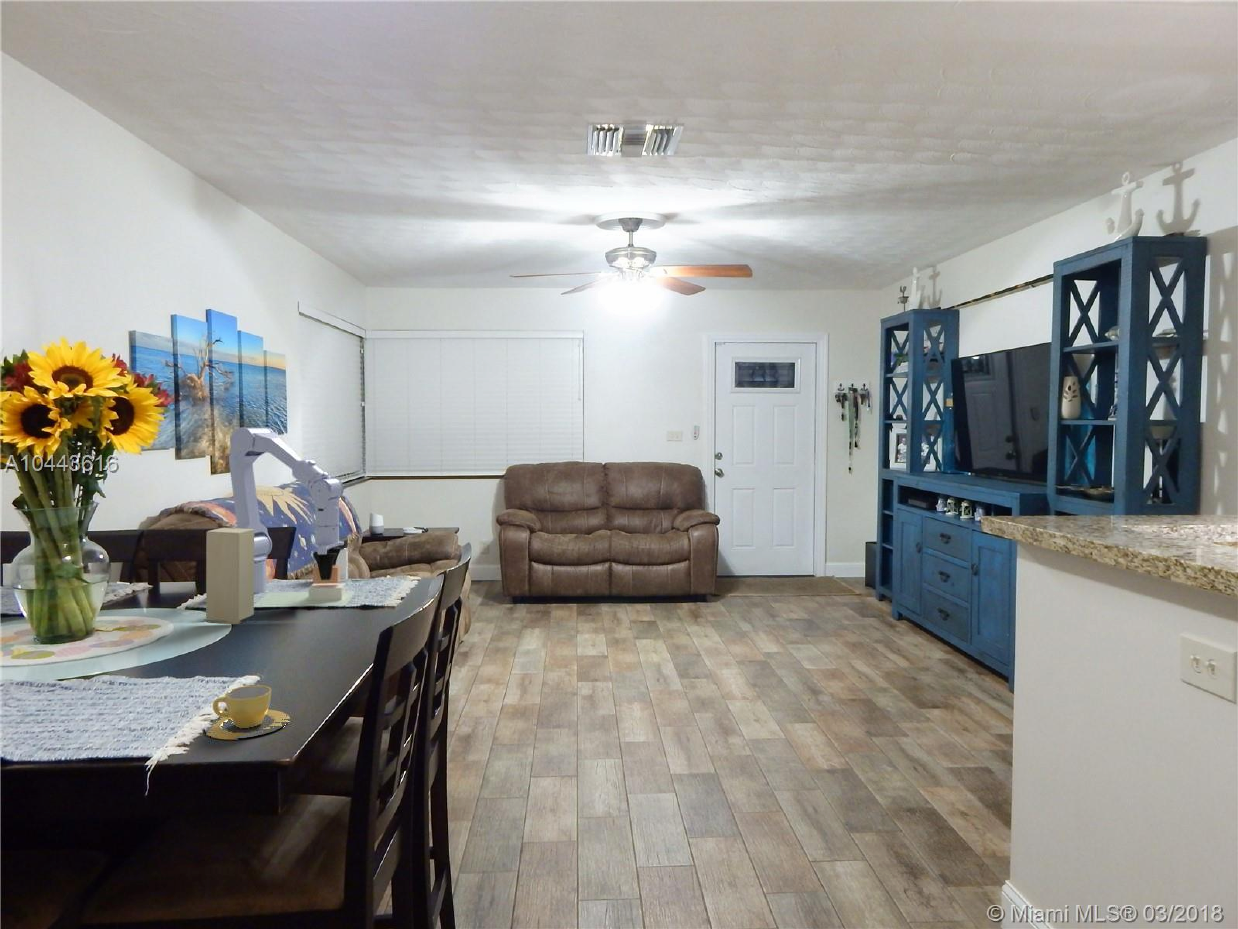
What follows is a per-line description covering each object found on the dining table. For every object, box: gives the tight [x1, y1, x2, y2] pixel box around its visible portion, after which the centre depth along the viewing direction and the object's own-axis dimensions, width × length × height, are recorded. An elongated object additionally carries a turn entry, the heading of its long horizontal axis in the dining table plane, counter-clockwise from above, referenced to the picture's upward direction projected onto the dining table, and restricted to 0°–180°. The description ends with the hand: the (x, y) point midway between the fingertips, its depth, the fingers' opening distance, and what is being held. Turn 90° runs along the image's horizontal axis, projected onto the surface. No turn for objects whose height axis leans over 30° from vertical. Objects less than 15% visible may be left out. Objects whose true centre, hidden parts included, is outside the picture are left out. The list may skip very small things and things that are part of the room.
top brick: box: [312, 564, 340, 585], centre depth 205 cm, size 6×4×4 cm, turn 100°
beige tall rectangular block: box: [205, 527, 255, 625], centre depth 184 cm, size 8×7×21 cm
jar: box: [316, 536, 349, 583], centre depth 231 cm, size 9×8×12 cm
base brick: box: [308, 582, 346, 600], centre depth 206 cm, size 8×6×3 cm
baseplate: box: [254, 590, 356, 608], centre depth 204 cm, size 22×16×1 cm
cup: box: [206, 684, 291, 740], centre depth 123 cm, size 12×12×5 cm
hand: (327, 577), depth 206 cm, fingers closed on top brick, 4 cm apart
